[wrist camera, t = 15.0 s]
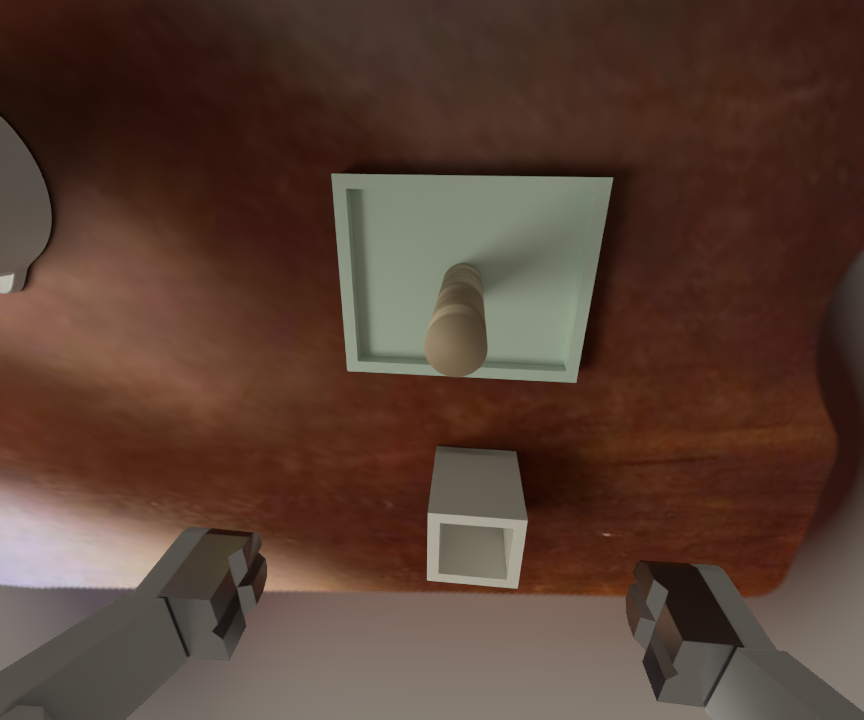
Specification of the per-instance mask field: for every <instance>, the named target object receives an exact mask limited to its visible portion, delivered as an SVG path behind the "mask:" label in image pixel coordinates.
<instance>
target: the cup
mask: <svg viewBox="0 0 864 720" xmlns="http://www.w3.org/2000/svg"><path fill="white" fill-rule="evenodd" d="M527 522H528V520H527V514H526V508H525V502H524V496H523V490H522V484H521V478H520V472H519V466H518V460H517V454H516V451H504V450H488V449H473V448H458V447H442V446H436V454H435V462H434V469H433V477H432V485H431V492H430V500H429V508H428V542H427V580H428V581H439V582H450V583H461V584H472V585H483V586H494V587H505V588H516V589H518V582H519V576H520V569H521V562H522V555H523V549H524V542H525V535H526V528H527Z"/></svg>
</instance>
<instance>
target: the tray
mask: <svg viewBox="0 0 864 720" xmlns="http://www.w3.org/2000/svg"><path fill="white" fill-rule="evenodd" d="M331 176H332V188H333V200H334V213H335V225H336V237H337V249H338V262H339V274H340V286H341V298H342V311H343V323H344V335H345V347H346V360H347V371H358V372H377V373H397V374H416V375H436V376H446V375H443V374H441V373H439V372H438V371H436V370H435V369H434V368H433V367H432V366H431V365H430V364H429V362H428V361H427V359H426V356H425V352H424V343H425V339H426V335H427V332H428V329H429V325H430V322H431V318H432V315H433V312H434V308H435V305H436V302H437V298H438V295H439V291H440V288H441V285H442V281H443V278H444V275H445V273H446V272H447V270H448V269H449V268H450V267H452V266H453V265H456V264H460V263H466V264H469V265H472V266H473V267H475V268H476V269H477V270H478V271H479V273H480V275H481V278H482V287H483V299H484V310H485V322H486V333H487V345H488V351H487V356H486V359H485V361H484V363H483V364H482V365H481V367H480V368H479V369H478V370H476V371H475V372H473V373H472V374H469V375H467V376H463V377H475V378H494V379H513V380H533V381H552V382H572V383H576V381H577V375H578V370H579V364H580V359H581V353H582V348H583V342H584V337H585V331H586V326H587V320H588V315H589V309H590V304H591V298H592V293H593V287H594V281H595V276H596V270H597V265H598V259H599V254H600V248H601V243H602V237H603V232H604V226H605V221H606V215H607V210H608V204H609V199H610V193H611V188H612V182H613V177H539V176H464V175H390V174H331Z"/></svg>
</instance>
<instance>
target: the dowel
mask: <svg viewBox="0 0 864 720" xmlns="http://www.w3.org/2000/svg"><path fill="white" fill-rule="evenodd" d="M487 351H488V345H487V333H486V322H485V310H484V299H483V287H482V278H481V275H480V273H479V271H478V270H477V269H476V268H475V267H473V266H472V265H469V264H466V263H460V264H456V265H453V266H452V267H450V268H449V269H448V270H447V272H446V273H445V275H444V278H443V281H442V285H441V288H440V291H439V295H438V298H437V302H436V305H435V308H434V312H433V315H432V318H431V322H430V325H429V329H428V332H427V335H426V339H425V343H424V352H425V356H426V359H427V361H428V362H429V364H430V365H431V366H432V367H433V368H434V369H435V370H436V371H438V372H439V373H441V374H443V375H446V376H450V377H463V376H467V375H469V374H472V373H473V372H475V371H476V370H478V369H479V368H480V367H481V365H482V364H483V363H484V361H485V359H486V356H487Z"/></svg>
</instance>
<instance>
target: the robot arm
mask: <svg viewBox="0 0 864 720" xmlns="http://www.w3.org/2000/svg"><path fill="white" fill-rule="evenodd" d="M51 222H52V215H51V205H50V200H49V195H48V191H47V188H46V185H45V182H44V179H43V177H42V174H41V172H40V170H39V168H38V166H37V164H36V162H35V160H34V158H33V157H32V155H31V153H30V152H29V150H28V148H27V147H26V146H25V144H24V143H23V141H22V140H21V139H20V137H19V136H18V135H17V134H16V132H15V131H14V130H13V129H12V128H11V127H10V125H9V124H8V123H7V122H6V121H5V120H4V119H3V118H2V117H1V116H0V293H3V294H8V293H15V292H19V291H21V290H22V288H23V286H24V283H25V278H26V273H27V268H28V267H29V265H30V264H31V263H32V262H33V261H34V260H35V259H36V258H37V257H38V256H39V255H40V254H41V252H42V251H43V250H44V248H45V246H46V244H47V242H48V239H49V236H50V231H51ZM261 546H262V542H261V538H260V535H259V534H258V533H252V532H242V531H232V530H222V529H213V528H212V529H211V528H200V527H189V528H188V529H186V530H184V531H183V532H182V533H181V534H180V535H179V537H178V538H177V539H176V540H175V541H174V543H173V544H172V545H171V546H170V548H169V549H168V550H167V551H166V553H165V554H164V555H163V556H162V557H161V559H160V560H159V561H158V562H157V564H156V565H155V566H154V567H153V569H152V570H151V571H150V572H149V573H148V575H147V576H146V577H145V578H144V580H143V581H142V582H141V583H140V585H139V586H138V587H137V588H136V590H135V591H134V592H133V594H131V595H123V596H121V597H120V598H118V599H116V600H115V601H113V602H111V603H110V604H108V605H107V606H105V607H104V608H102V609H100V610H99V611H97V612H95V613H94V614H92V615H90V616H89V617H88V618H86V619H84V620H82V621H81V622H79V623H77V624H76V625H74V626H73V627H71V628H69V629H68V630H66V631H65V632H63V633H61V634H60V635H58V636H57V637H55V638H53V639H52V640H50V641H48V642H47V643H45V644H44V645H42V646H40V647H39V648H37V649H36V650H34V651H32V652H31V653H29V654H27V655H26V656H24V657H23V658H21V659H19V660H18V661H16V662H14V663H13V664H12V665H10V666H8V667H6V668H5V669H3V670H2V671H0V720H125V719H126V718H127V717H129V716H130V715H131V714H132V713H133V712H134V711H135V710H136V709H137V708H138V707H139V706H140V705H141V704H142V703H143V702H144V701H146V700H147V699H148V698H149V697H150V696H151V695H152V694H153V693H154V692H155V691H156V690H157V689H158V688H160V686H162V685H163V684H164V683H165V682H166V681H167V680H168V679H169V678H170V677H171V676H172V675H174V673H176V672H177V671H178V670H179V669H180V668H181V667H182V666H183V665H184V664H185V663H186V662H187V661H188V658H198V659H215V660H230V658H231V656H232V654H233V652H234V650H235V648H236V646H237V644H238V642H239V640H240V638H241V636H242V634H243V632H244V630H245V628H246V622H245V616H244V615H245V614H247V613H248V612H249V611H250V610H251V609H253V608H254V607H255V606H256V605H257V604H258V602H259V599H260V597H261V595H262V593H263V590H264V586H265V582H266V579H267V564H266V559H265V558H264V557H263V556H262V555H261V554H260V553H259V552H258V551H259V549H260V548H261ZM633 573H634V575H635V578H636V580H637V582H635V583H634V584H632V585H631V586H629V587H628V591H627V595H626V614H627V619H628V623H629V626H630V629H631V632H632V635H633V638H634V639H635V640H636V641H637V642H638V643H639V644H640V645H641V646H642V647H643V648H644V649H645V650H646V652H645V655H644V658H643V661H642V662H643V665H644V667H645V670H646V673H647V676H648V679H649V681H650V684H651V687H652V689H653V692H654V695H655V697H656V700H657V701H659V702H667V703H675V704H683V705H691V706H699V707H706V708H705V711H706V712H707V714H708V715H709V716H710V717H711V718H712V719H713V720H864V712H863V711H862V710H860V709H859V708H858V707H856V706H855V705H854V704H853V703H851V702H850V701H849V700H848V699H846V698H845V697H844V696H842V695H841V694H840V693H839V692H837V691H836V690H835V689H834V688H832V687H831V686H830V685H828V684H827V683H826V682H825V681H823V680H822V679H821V678H819V677H818V676H817V675H815V674H814V673H813V672H812V671H810V670H809V669H808V668H807V667H805V666H804V665H803V664H802V663H800V662H799V661H798V660H796V659H795V658H794V657H793V656H791V655H790V654H789V653H787V652H784V651H778V650H777V649H776V647H775V646H774V644H773V643H772V641H771V640H770V638H769V637H768V636H767V634H766V633H765V631H764V629H763V628H762V627H761V625H760V623H759V622H758V621H757V619H756V618H755V616H754V614H753V613H752V612H751V610H750V609H749V607H748V606H747V604H746V603H745V602H744V600H743V598H742V597H741V595H740V594H739V592H738V591H737V589H736V588H735V586H734V585H733V583H732V582H731V580H730V579H729V577H728V576H727V574H726V573H725V571H724V570H723V569H721V568H720V567H719V566H715V565H701V564H688V563H678V562H661V561H644V560H640V561H639V562H638V563H637V564H636V566H635V569H634V572H633Z"/></svg>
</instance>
